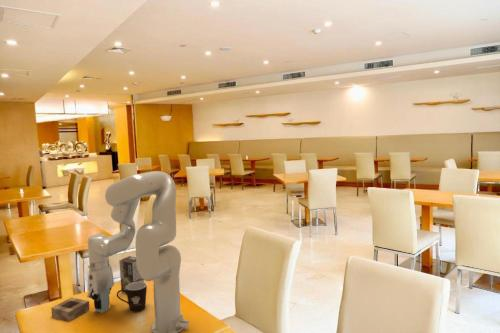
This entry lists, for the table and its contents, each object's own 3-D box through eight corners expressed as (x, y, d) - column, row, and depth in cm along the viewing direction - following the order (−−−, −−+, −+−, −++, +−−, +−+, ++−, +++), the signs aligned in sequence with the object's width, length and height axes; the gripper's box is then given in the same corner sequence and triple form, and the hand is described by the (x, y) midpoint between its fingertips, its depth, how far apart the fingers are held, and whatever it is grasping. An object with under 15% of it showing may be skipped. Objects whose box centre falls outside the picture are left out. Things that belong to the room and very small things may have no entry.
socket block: (89, 310, 155) (88, 301, 155) (69, 321, 146) (69, 312, 146) (72, 306, 159) (71, 297, 159) (51, 317, 150) (51, 307, 149)
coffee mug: (151, 304, 158) (150, 282, 157) (140, 314, 150) (139, 291, 149) (128, 302, 162) (127, 280, 161) (116, 311, 153) (114, 288, 152)
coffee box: (144, 292, 171) (143, 258, 170) (134, 297, 166) (132, 263, 164) (131, 288, 176) (129, 255, 175) (120, 293, 171) (118, 259, 169)
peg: (109, 308, 156) (108, 285, 155) (102, 312, 152) (100, 289, 151) (102, 306, 158) (100, 284, 157) (95, 311, 154) (93, 288, 153)
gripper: (90, 272, 144) (93, 317, 146) (120, 258, 159) (123, 298, 161) (76, 270, 147) (79, 313, 149) (107, 256, 162) (109, 296, 164)
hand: (102, 305), depth 155 cm, fingers closed on peg, 4 cm apart
